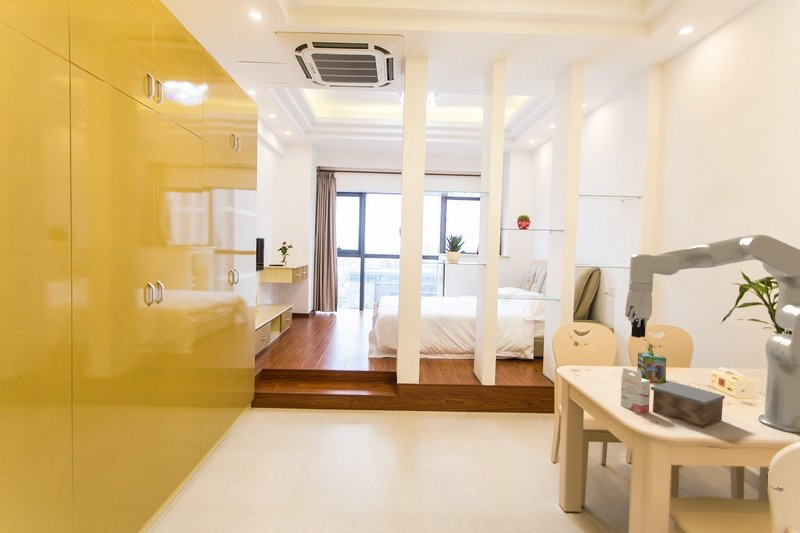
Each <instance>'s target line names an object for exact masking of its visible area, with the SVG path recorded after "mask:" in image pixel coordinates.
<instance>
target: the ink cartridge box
mask: <svg viewBox="0 0 800 533" xmlns="http://www.w3.org/2000/svg"><path fill="white" fill-rule="evenodd" d="M621 373H622V375H621V387H620V388H621V389H620V406H621V407H624V408H626V409H628V410H631V411H633V412H636V413H637V414H643V413H649V412H650V397H651V395H650V393H651V382H650V381H649V380H646V379H643V378H642V373H639V372H637V371H635V370H632V369H628V368H625V367H623V368H622V372H621Z"/></svg>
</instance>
